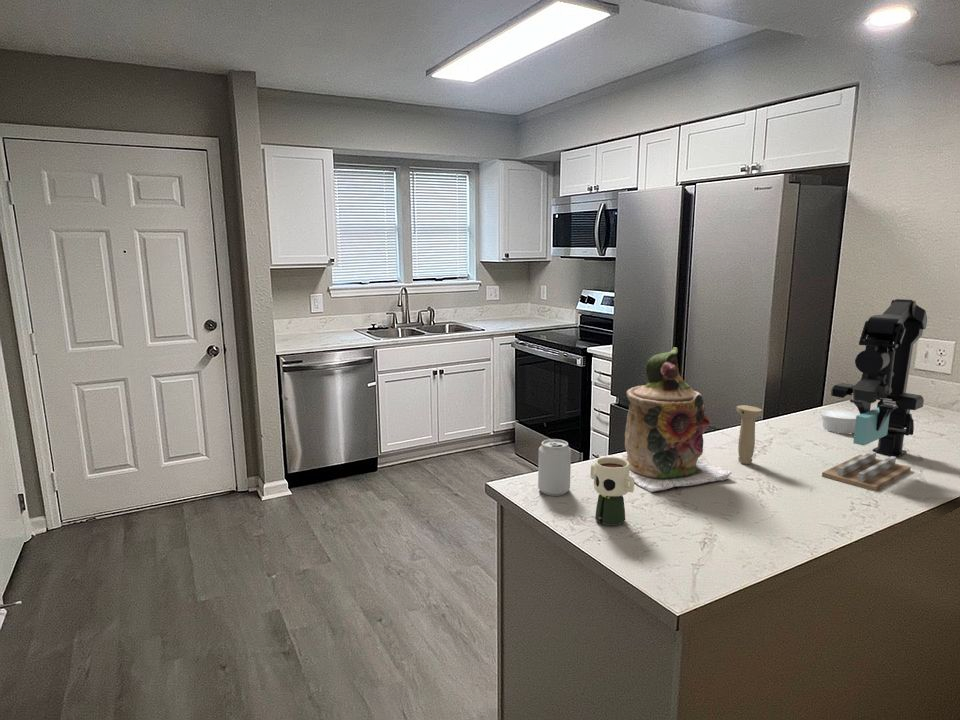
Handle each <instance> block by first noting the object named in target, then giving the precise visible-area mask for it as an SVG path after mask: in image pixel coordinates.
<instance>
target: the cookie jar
mask: <svg viewBox="0 0 960 720" xmlns="http://www.w3.org/2000/svg"><path fill="white" fill-rule="evenodd" d="M678 353H679V350H678V347H675V346H674V347H673V348H672V349H671V350H670V351H667V352H662V353H658V354H654V355H652V356H651V357H650V358H649V359H648V360H647V363H646V367H645V368H646V369H645V373H646V378H647V383H646V384H645V385H637V386H633V387H631V388H629V389H628V390H626V393H625V394H626V397H627V398H628V401H629V406H628V412H627V414H626V415H627V416H626V424H625V432H624V448H625V451H626V452H623V453H622V452H620V453H614V454H608V455H600V456H599V458H602V457H609V456H610V457H617V458H622V459H625V460H627V461H628V462H629V463H630V469H629V476H631V477H633V478H634V484H636V485H638V486H639V487H640V488H642V489H645V491H648V492H651V493H654V492H657V491H664V490H668V489H672V488H674V487H688V486H695V485H701V484H706V483H712V482H718V481H725V480H727V479H729V478H730V475H731V474H732V473H733V472H732V471H731V470H728V469H725V468H723V467H720V466H719V467H718V466H714V465H712V464H709V463H706V462H705V461H704V460H701V459H699V458H700V457H701V456H702V455H703V453H704V437H703V435H704V433H705V432H706V431H707V430H708V428H709V427H710V426H711V425H712V422H711V419H710V417H709V416H708V415H705V411H706V406H705V405H704V400H703V397H702V394H701V393H700V392H699V391H696V390H694V389H693V388H692V386H690V385H689V383H687V382H685V380H684V379H683V378H682V376H681V375H680V370H679V363H678V357H677V355H678Z"/></svg>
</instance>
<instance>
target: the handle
mask: <svg viewBox="0 0 960 720" xmlns="http://www.w3.org/2000/svg"><path fill="white" fill-rule="evenodd" d="M735 411H736V413H738V414H739V415H740V416H741V421H740V430H739V436H738V443H737V444H738V445H737V446H738V447H737V448H738V449H737V452H738V462H739V463H740V464H743V465H749V464H750V465H751V464H752V462H753V456H754V452H755V447H756V446H755V443H756V420H757V417H760V416H762V415H763V409H761V408H759V407H757V406H752V405H744V404H742V405H737V406H736V408H735Z"/></svg>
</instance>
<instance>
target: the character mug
mask: <svg viewBox="0 0 960 720" xmlns="http://www.w3.org/2000/svg"><path fill="white" fill-rule="evenodd" d="M629 469H630V463H629V462H628V461H627V460H625V459H622V458H617V457H602V458H600V457H598V458H596V459H595V462H594V463H593V464H590V478H591V479H592V480H593V488H594V490H595V491H596V493H597V494H598V497H597V502H596V508H595V520H596V522H598V523H599V522H600V521H601V520H600V519H602V524H603V525H608V526H618V525H621V524H622V523H623V522H625V521H626V511H625V510H626V509H625V499H624V495H627V494H628V493H634V491H635V482H634V478H633V477H631V476H629Z"/></svg>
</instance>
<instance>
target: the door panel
mask: <svg viewBox="0 0 960 720" xmlns="http://www.w3.org/2000/svg"><path fill="white" fill-rule="evenodd" d="M859 414H860V413H859ZM878 416H879V407H878V408H877V407H876V408H875V407H874V408H873V409H870V411H867V412H865V413H862V414H860V415H857V416H856V424H855V433H854V434H853V444H856V445H859V446H862V447H863V446H864V447H865V446H867V445H869V444H871V443H873V442H875V441H877V440H879V439H880V438H882V437H884V436H886V435H887V432H888V424H889V416H890V415H889V416H888V418H887V419H886V421H885V422H884V424H883V426H882V427H881V429H880V430H879V431H877V430H876V427H877V421H878Z"/></svg>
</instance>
